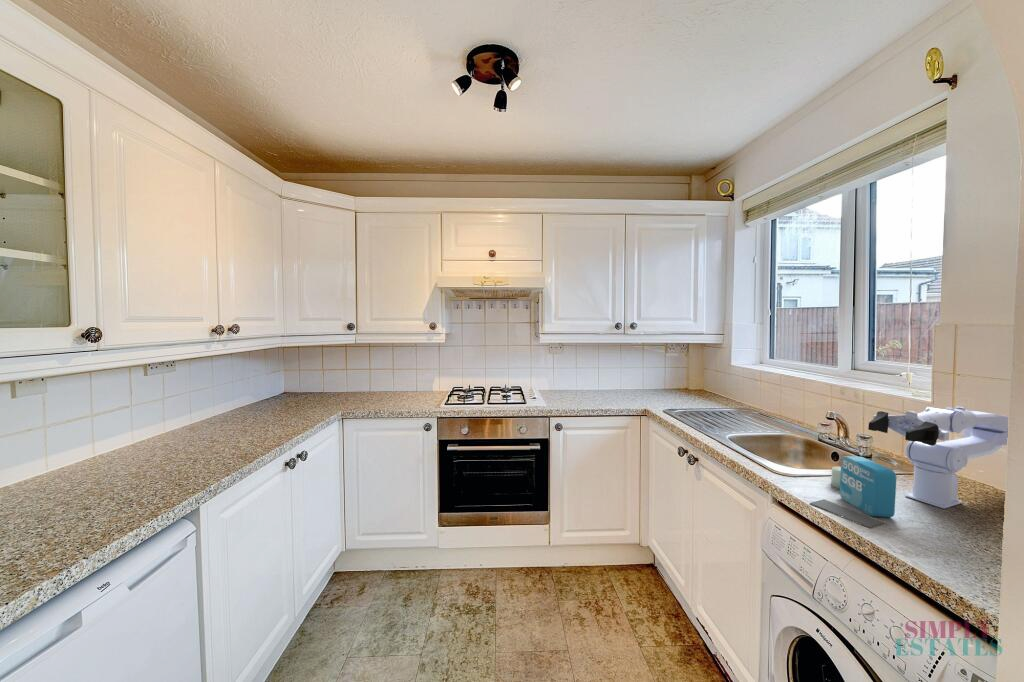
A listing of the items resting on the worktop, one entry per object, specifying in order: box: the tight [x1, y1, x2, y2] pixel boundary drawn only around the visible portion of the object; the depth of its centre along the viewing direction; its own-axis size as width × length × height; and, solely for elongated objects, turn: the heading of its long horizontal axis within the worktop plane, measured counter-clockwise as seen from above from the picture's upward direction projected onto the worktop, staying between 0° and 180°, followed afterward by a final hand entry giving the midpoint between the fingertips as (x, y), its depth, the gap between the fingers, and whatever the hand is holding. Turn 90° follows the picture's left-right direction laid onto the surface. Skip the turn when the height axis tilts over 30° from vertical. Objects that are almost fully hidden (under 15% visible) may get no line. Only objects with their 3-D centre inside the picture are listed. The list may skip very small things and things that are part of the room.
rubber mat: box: [809, 498, 885, 529], centre depth 98 cm, size 6×13×1 cm, turn 22°
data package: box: [839, 455, 897, 518], centre depth 101 cm, size 12×4×12 cm, turn 174°
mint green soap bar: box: [830, 466, 841, 490], centre depth 114 cm, size 6×6×5 cm
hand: (888, 431), depth 99 cm, fingers open, 7 cm apart
